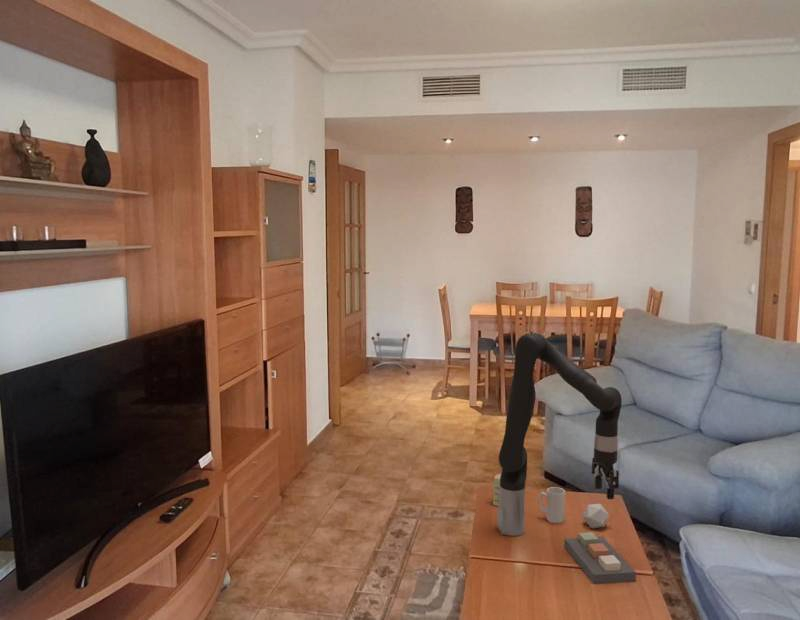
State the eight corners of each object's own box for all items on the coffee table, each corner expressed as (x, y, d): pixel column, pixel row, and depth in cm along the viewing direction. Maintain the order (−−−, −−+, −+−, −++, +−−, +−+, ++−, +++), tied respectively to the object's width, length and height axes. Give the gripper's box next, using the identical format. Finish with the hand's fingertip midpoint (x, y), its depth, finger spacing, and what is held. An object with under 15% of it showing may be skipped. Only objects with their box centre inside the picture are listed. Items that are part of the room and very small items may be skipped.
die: (607, 535, 226) (616, 509, 229) (586, 523, 226) (595, 498, 229) (595, 533, 234) (605, 508, 237) (575, 521, 234) (585, 497, 237)
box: (521, 504, 251) (522, 477, 249) (517, 510, 245) (518, 482, 244) (496, 500, 255) (497, 473, 254) (492, 505, 250) (493, 477, 249)
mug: (563, 516, 239) (564, 487, 238) (565, 524, 233) (566, 494, 232) (537, 515, 241) (537, 485, 240) (538, 522, 234) (538, 492, 233)
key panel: (593, 583, 192) (593, 574, 192) (564, 546, 216) (564, 538, 215) (635, 580, 194) (636, 571, 193) (601, 544, 217) (602, 536, 217)
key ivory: (605, 575, 194) (605, 563, 194) (598, 567, 199) (598, 555, 198) (620, 574, 195) (620, 562, 194) (612, 566, 200) (613, 555, 199)
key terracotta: (594, 562, 202) (594, 551, 201) (587, 555, 207) (588, 544, 206) (608, 561, 202) (609, 550, 202) (601, 554, 207) (602, 543, 207)
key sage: (584, 550, 210) (584, 539, 209) (578, 543, 215) (578, 533, 214) (598, 550, 210) (598, 539, 210) (591, 543, 215) (592, 532, 215)
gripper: (585, 440, 210) (584, 486, 212) (605, 454, 196) (603, 503, 198) (606, 439, 211) (604, 484, 213) (627, 453, 197) (625, 501, 199)
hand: (604, 493), depth 206 cm, fingers open, 8 cm apart
